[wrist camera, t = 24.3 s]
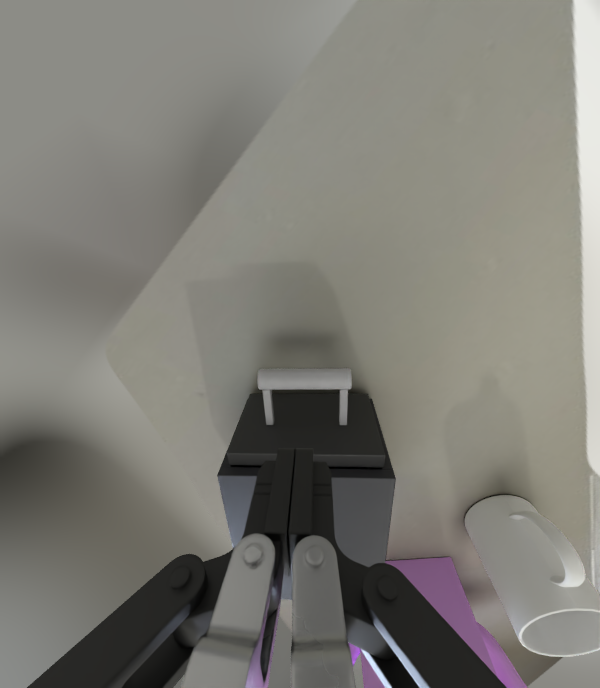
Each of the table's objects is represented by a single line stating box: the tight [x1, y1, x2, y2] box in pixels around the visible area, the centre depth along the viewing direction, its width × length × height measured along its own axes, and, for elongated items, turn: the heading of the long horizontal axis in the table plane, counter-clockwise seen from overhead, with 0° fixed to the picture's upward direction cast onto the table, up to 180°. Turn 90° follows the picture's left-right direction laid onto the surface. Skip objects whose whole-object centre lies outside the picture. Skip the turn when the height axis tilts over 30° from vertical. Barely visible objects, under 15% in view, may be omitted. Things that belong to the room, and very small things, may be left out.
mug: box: [465, 495, 600, 657], centre depth 28 cm, size 12×8×10 cm, turn 10°
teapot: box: [349, 557, 527, 688], centre depth 34 cm, size 15×25×14 cm, turn 102°
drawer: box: [227, 368, 385, 469], centre depth 26 cm, size 20×11×8 cm, turn 2°
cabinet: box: [217, 399, 396, 600], centre depth 27 cm, size 16×13×10 cm
